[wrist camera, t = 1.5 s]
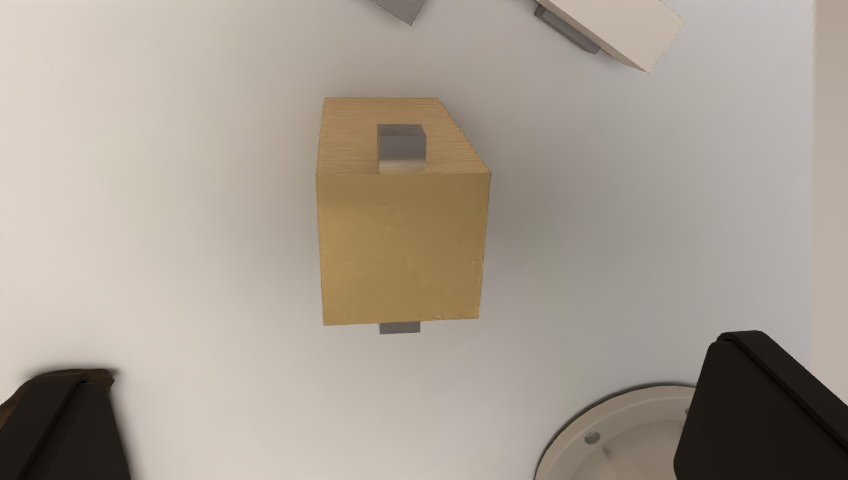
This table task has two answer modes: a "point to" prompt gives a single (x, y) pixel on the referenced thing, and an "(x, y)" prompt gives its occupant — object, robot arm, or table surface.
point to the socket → (595, 25)
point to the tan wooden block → (398, 214)
